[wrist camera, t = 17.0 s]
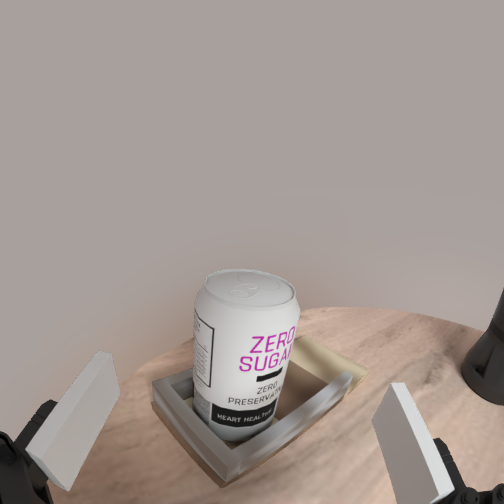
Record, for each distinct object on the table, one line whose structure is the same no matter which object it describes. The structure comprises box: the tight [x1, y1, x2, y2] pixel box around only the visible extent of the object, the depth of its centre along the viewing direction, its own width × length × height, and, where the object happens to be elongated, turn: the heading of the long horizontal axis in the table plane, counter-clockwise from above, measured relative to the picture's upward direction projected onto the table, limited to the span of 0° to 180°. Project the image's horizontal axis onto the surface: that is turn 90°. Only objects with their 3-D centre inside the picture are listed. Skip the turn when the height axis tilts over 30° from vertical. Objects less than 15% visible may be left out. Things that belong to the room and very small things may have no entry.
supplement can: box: [193, 269, 300, 442], centre depth 24 cm, size 8×8×15 cm
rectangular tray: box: [151, 335, 369, 489], centre depth 30 cm, size 26×12×4 cm, turn 133°
